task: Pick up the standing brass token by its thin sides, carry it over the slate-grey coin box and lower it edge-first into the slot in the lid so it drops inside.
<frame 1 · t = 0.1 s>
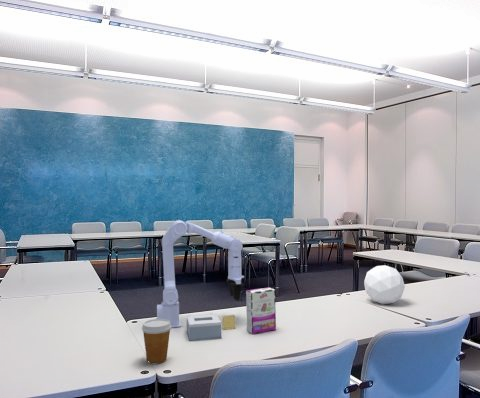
hand: (235, 297, 167), 10 cm above the table, tool pointing down, fingers open, 7 cm apart
disposable coffee cup: (156, 360, 125), on the table
polyhedron: (384, 303, 196), on the table
token: (228, 328, 157), on the table
coin box: (203, 334, 149), on the table
candy bar box: (261, 331, 154), on the table
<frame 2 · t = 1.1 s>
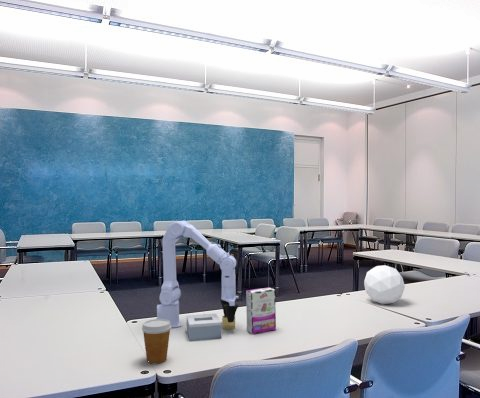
hand: (228, 319, 157), 4 cm above the table, tool pointing down, fingers open, 7 cm apart
nothing on the table moved.
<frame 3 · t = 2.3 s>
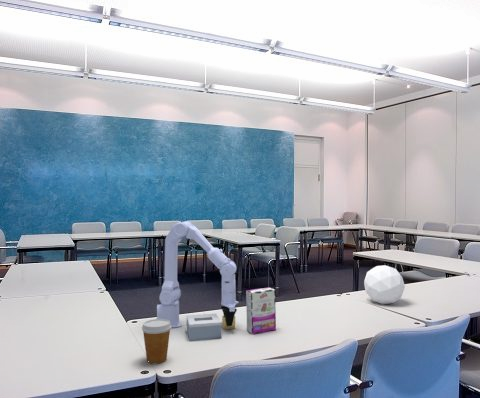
hand: (228, 324, 157), 1 cm above the table, tool pointing down, fingers closed on token, 2 cm apart
token: (228, 328, 157), on the table, touching gripper
everything else where it was.
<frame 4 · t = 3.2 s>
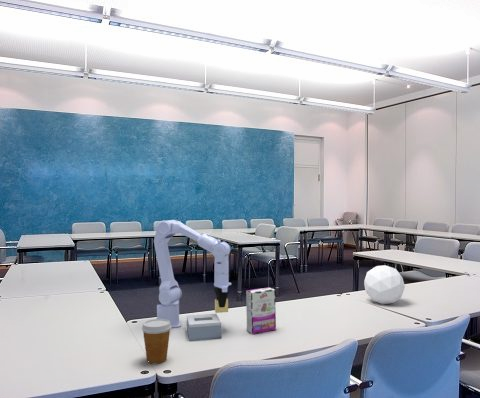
hand: (221, 306, 155), 9 cm above the table, tool pointing down, fingers closed on token
token: (221, 311, 155), point 7 cm above the table, touching gripper
everything else where it was.
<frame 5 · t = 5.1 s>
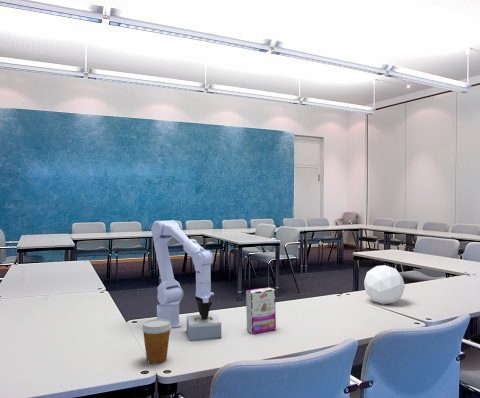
hand: (203, 317, 150), 7 cm above the table, tool pointing down, fingers open, 6 cm apart
token: (203, 332, 149), point 1 cm above the table, touching coin box
everything else where it was.
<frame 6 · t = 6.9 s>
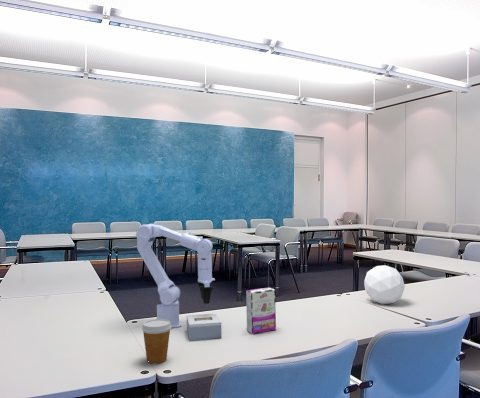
hand: (205, 301, 160), 10 cm above the table, tool pointing down, fingers open, 7 cm apart
nothing on the table moved.
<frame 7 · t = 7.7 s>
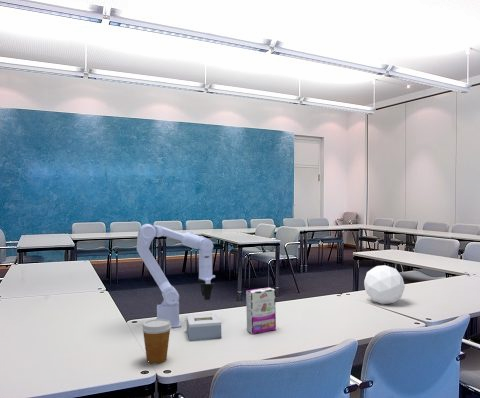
hand: (206, 297, 166), 10 cm above the table, tool pointing down, fingers open, 7 cm apart
nothing on the table moved.
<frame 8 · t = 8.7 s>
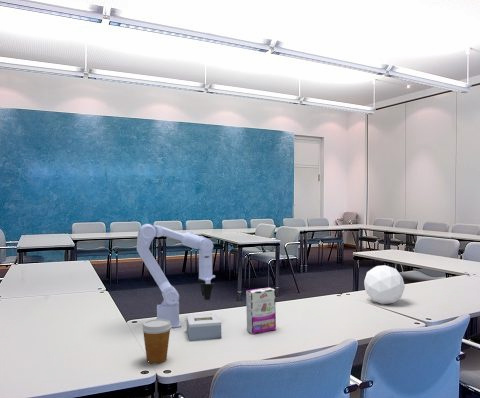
hand: (206, 297, 166), 10 cm above the table, tool pointing down, fingers open, 7 cm apart
nothing on the table moved.
at the end: token inside the target area on the coin box (0.0 cm from its centre), point 0.8 cm above the coin box's base; the gripper is holding nothing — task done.
